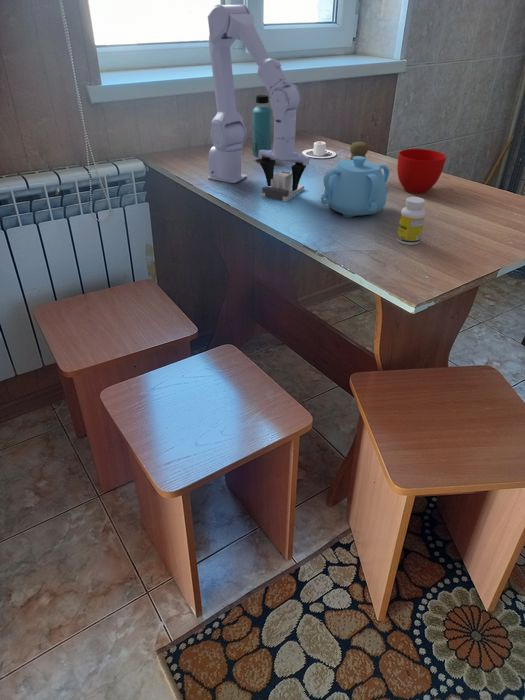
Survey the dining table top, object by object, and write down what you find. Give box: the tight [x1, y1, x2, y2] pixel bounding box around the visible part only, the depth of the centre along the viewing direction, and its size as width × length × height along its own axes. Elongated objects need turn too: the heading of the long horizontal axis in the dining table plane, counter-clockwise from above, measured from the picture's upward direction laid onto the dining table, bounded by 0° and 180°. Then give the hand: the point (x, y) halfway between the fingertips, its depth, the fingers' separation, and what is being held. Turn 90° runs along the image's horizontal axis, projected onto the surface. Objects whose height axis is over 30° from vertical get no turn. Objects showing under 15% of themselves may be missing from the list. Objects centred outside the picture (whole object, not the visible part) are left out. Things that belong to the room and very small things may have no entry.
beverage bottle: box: [251, 94, 273, 159], centre depth 167 cm, size 6×7×20 cm
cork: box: [349, 141, 369, 160], centre depth 153 cm, size 6×6×11 cm
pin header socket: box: [260, 178, 305, 202], centre depth 144 cm, size 8×12×4 cm, turn 152°
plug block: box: [273, 170, 292, 192], centre depth 144 cm, size 4×4×6 cm
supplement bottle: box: [396, 196, 426, 246], centre depth 116 cm, size 5×5×10 cm
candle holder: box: [301, 140, 337, 159], centre depth 179 cm, size 12×12×4 cm
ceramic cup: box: [396, 148, 447, 195], centre depth 148 cm, size 13×17×10 cm
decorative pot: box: [320, 156, 390, 219], centre depth 131 cm, size 16×16×14 cm
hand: (282, 187), depth 144 cm, fingers open, 7 cm apart
